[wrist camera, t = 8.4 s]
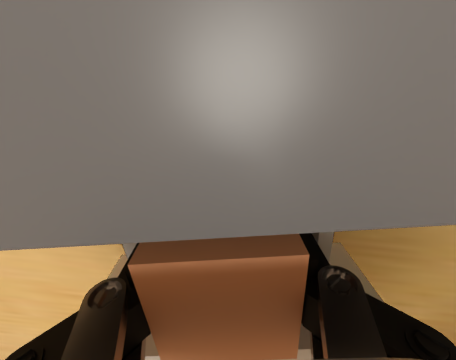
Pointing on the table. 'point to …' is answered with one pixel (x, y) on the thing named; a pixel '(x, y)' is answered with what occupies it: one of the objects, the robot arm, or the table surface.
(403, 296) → the table surface
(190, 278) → the block
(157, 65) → the housing
